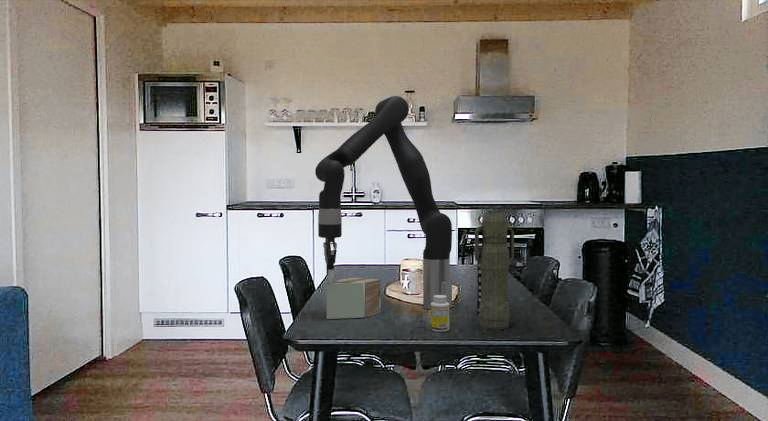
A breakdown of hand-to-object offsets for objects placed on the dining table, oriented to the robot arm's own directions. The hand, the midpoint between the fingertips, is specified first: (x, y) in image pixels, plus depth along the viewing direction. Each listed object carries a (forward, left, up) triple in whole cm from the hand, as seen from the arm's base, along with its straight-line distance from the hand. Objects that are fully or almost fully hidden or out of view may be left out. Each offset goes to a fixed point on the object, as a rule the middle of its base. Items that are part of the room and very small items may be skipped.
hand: (330, 275), depth 214 cm
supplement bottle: (-39, -1, -14) cm, 41 cm away
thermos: (-51, -14, -14) cm, 55 cm away
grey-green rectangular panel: (-6, -1, -13) cm, 15 cm away
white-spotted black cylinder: (-44, -28, -14) cm, 54 cm away
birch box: (-4, -10, -14) cm, 18 cm away
